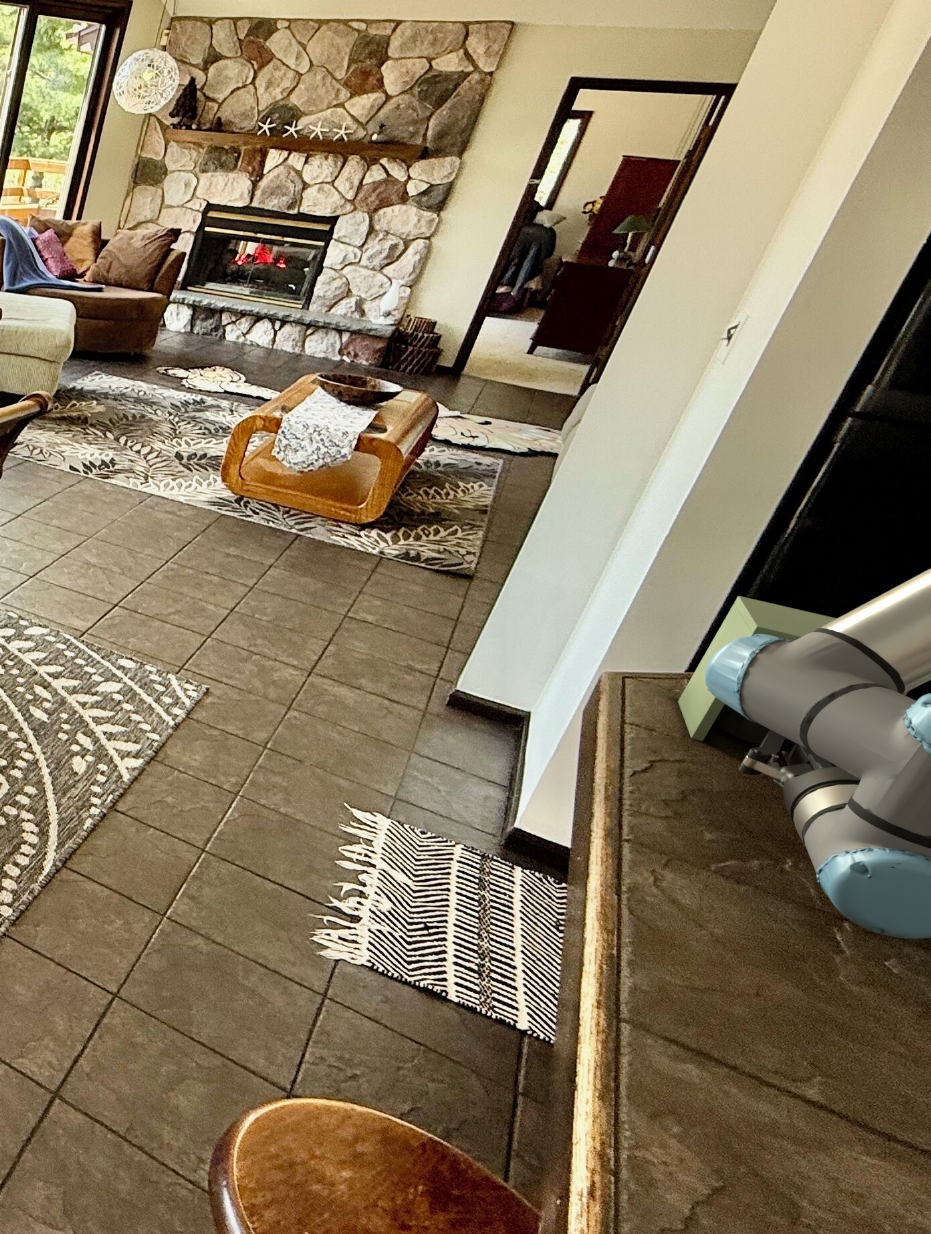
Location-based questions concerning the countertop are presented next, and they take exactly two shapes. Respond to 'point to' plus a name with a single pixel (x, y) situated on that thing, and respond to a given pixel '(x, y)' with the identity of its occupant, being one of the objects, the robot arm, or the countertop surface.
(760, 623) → the u-shaped block
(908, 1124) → the countertop surface
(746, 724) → the black cylinder
